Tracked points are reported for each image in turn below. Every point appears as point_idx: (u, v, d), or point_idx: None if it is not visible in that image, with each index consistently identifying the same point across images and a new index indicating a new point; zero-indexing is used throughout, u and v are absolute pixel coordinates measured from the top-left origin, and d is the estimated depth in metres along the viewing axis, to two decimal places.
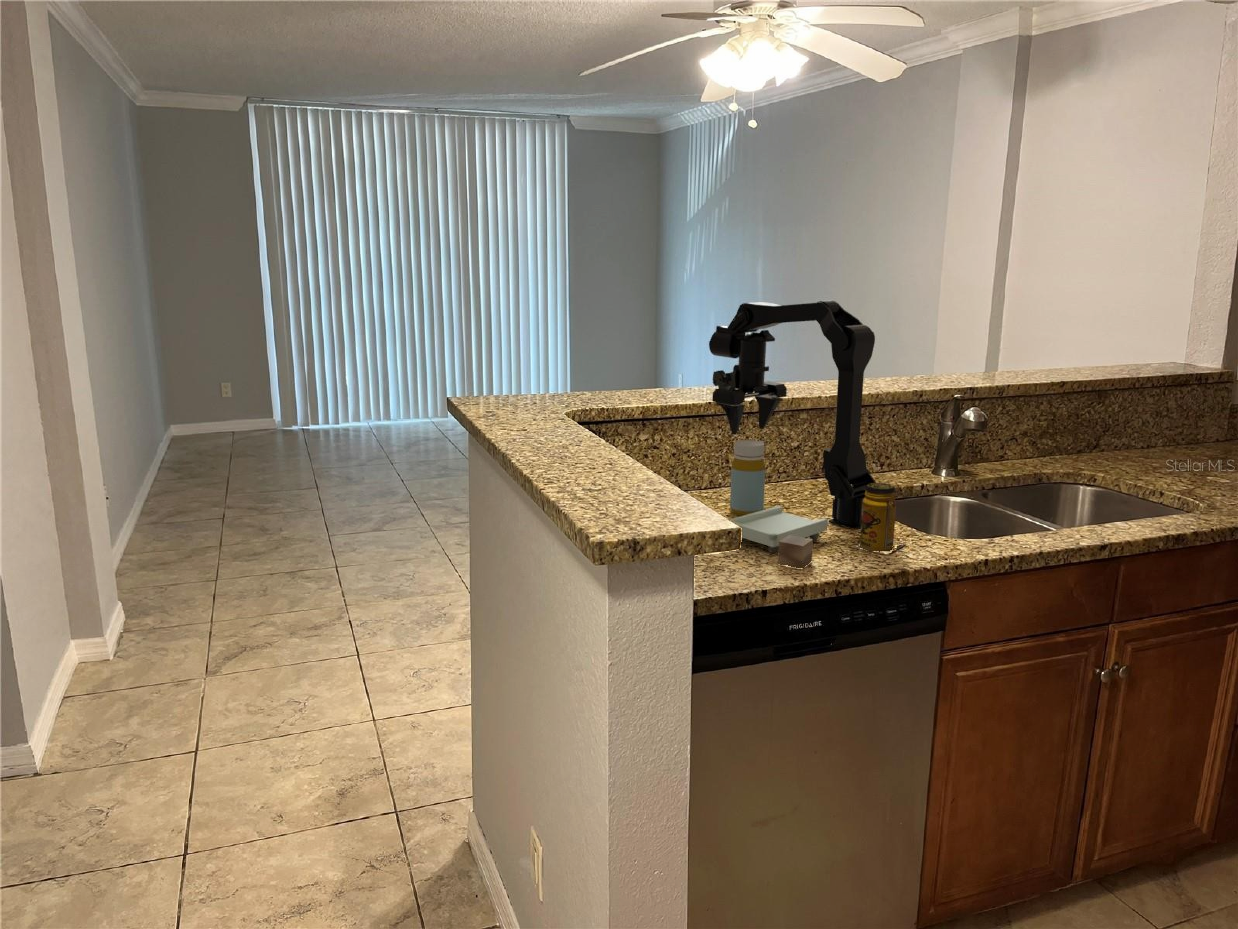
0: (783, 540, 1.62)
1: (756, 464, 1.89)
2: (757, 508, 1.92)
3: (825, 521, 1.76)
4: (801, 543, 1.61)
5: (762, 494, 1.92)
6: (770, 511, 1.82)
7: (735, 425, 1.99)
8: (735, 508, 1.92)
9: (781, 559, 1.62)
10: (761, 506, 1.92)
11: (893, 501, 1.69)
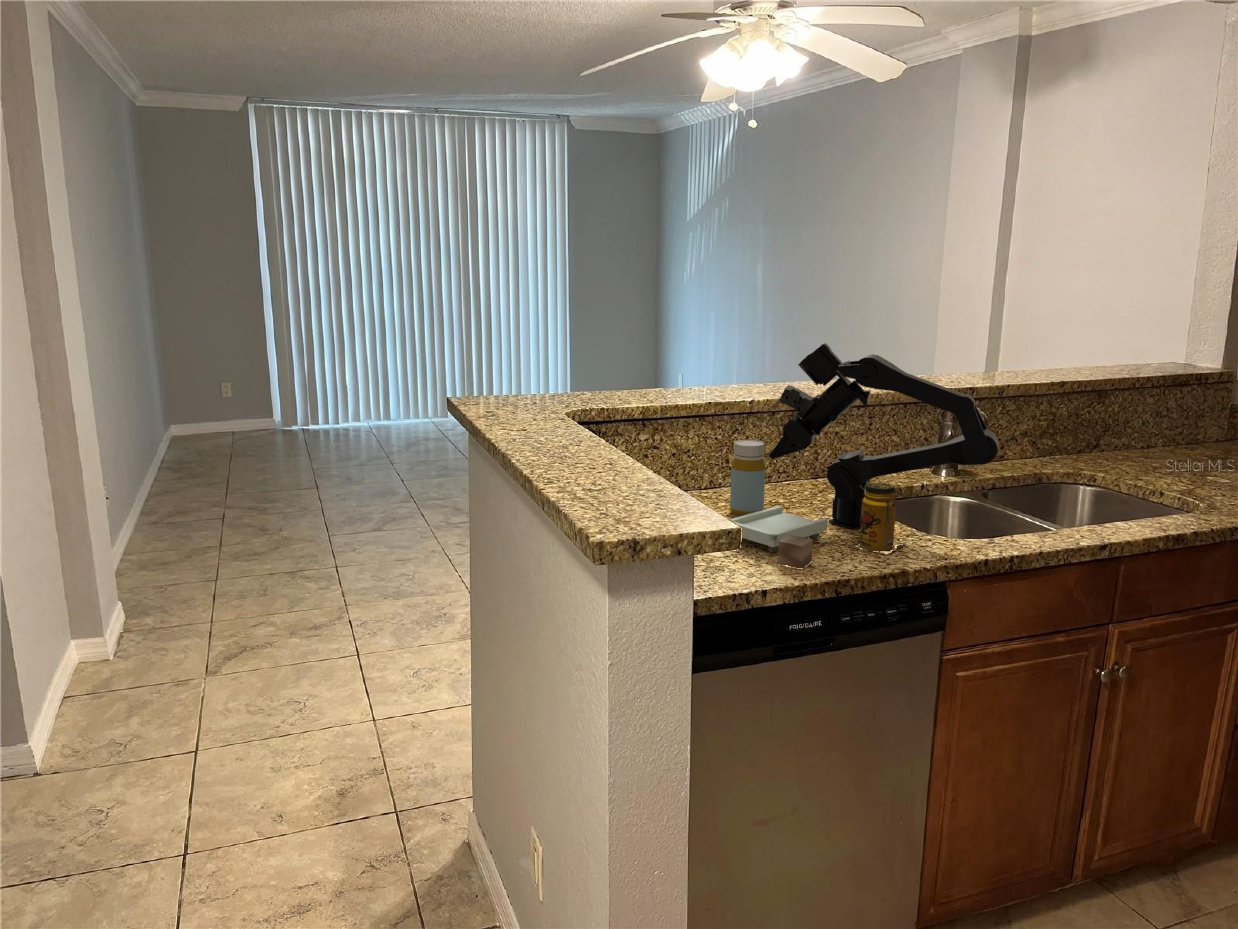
0: (783, 540, 1.62)
1: (756, 464, 1.89)
2: (757, 508, 1.92)
3: (825, 521, 1.76)
4: (801, 543, 1.61)
5: (762, 494, 1.92)
6: (770, 511, 1.82)
7: (780, 454, 1.84)
8: (735, 508, 1.92)
9: (781, 559, 1.62)
10: (761, 506, 1.92)
11: (893, 501, 1.69)
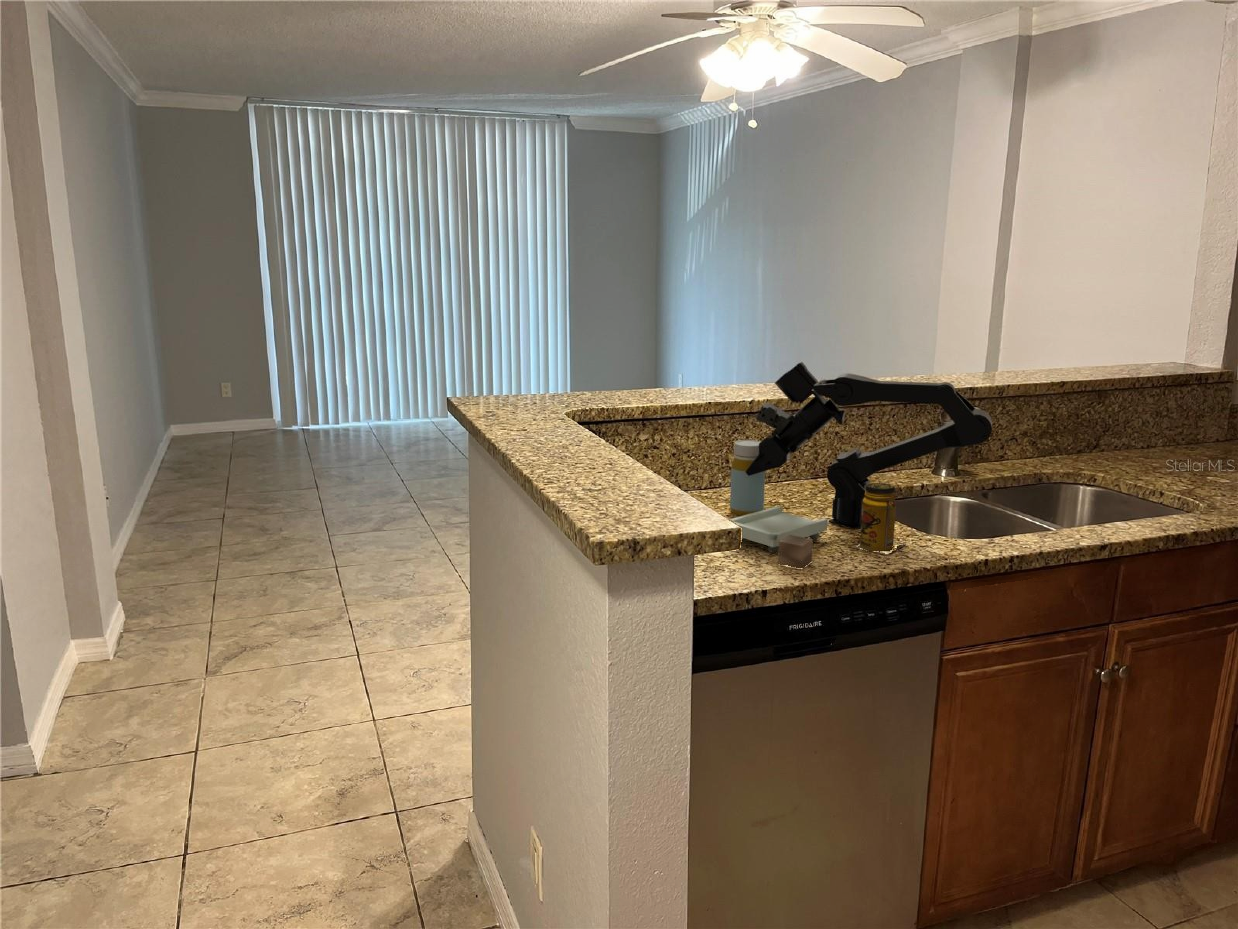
0: (783, 540, 1.62)
1: None
2: (757, 508, 1.92)
3: (825, 521, 1.76)
4: (801, 543, 1.61)
5: (762, 494, 1.92)
6: (770, 511, 1.82)
7: (756, 471, 1.86)
8: (735, 508, 1.92)
9: (781, 559, 1.62)
10: (761, 506, 1.92)
11: (893, 501, 1.69)
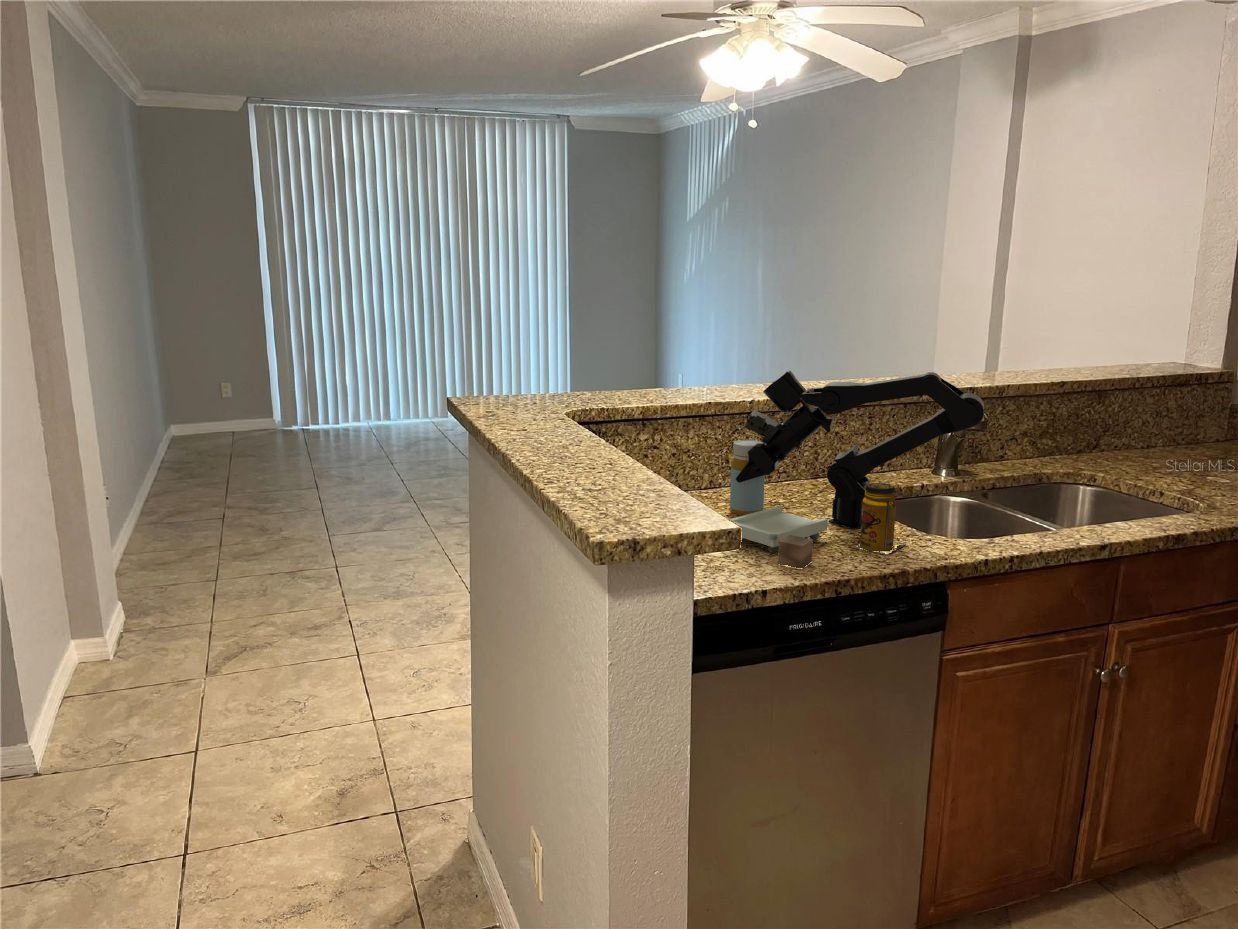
0: (783, 540, 1.62)
1: None
2: (757, 507, 1.92)
3: (825, 521, 1.76)
4: (801, 543, 1.61)
5: (762, 494, 1.92)
6: (770, 511, 1.82)
7: (746, 478, 1.89)
8: (735, 508, 1.92)
9: (781, 559, 1.62)
10: (761, 506, 1.92)
11: (893, 501, 1.69)
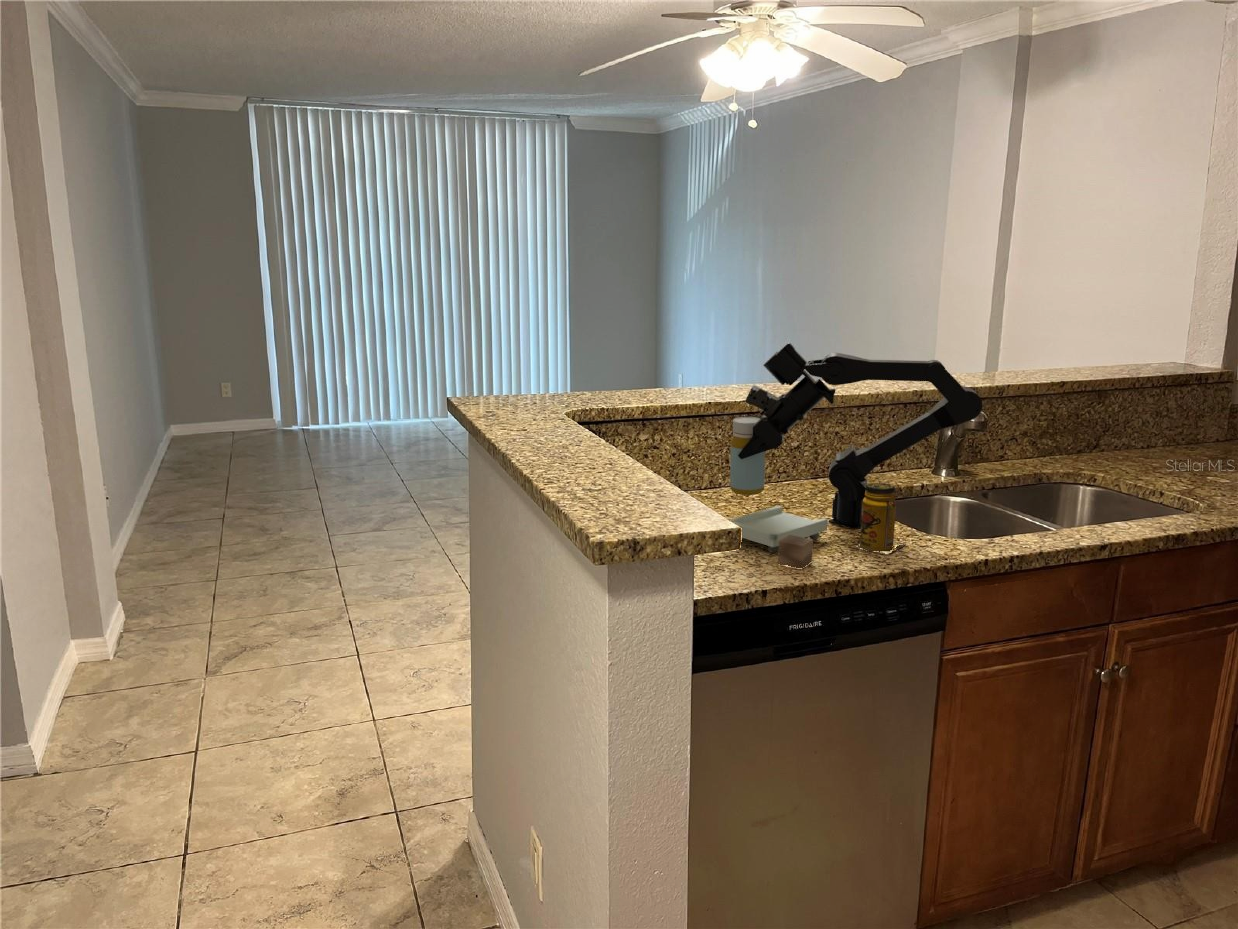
0: (783, 540, 1.62)
1: None
2: (759, 485, 1.88)
3: (825, 521, 1.76)
4: (801, 543, 1.61)
5: (763, 471, 1.89)
6: (770, 511, 1.82)
7: (750, 454, 1.84)
8: (737, 487, 1.88)
9: (781, 559, 1.62)
10: (763, 484, 1.89)
11: (893, 501, 1.69)
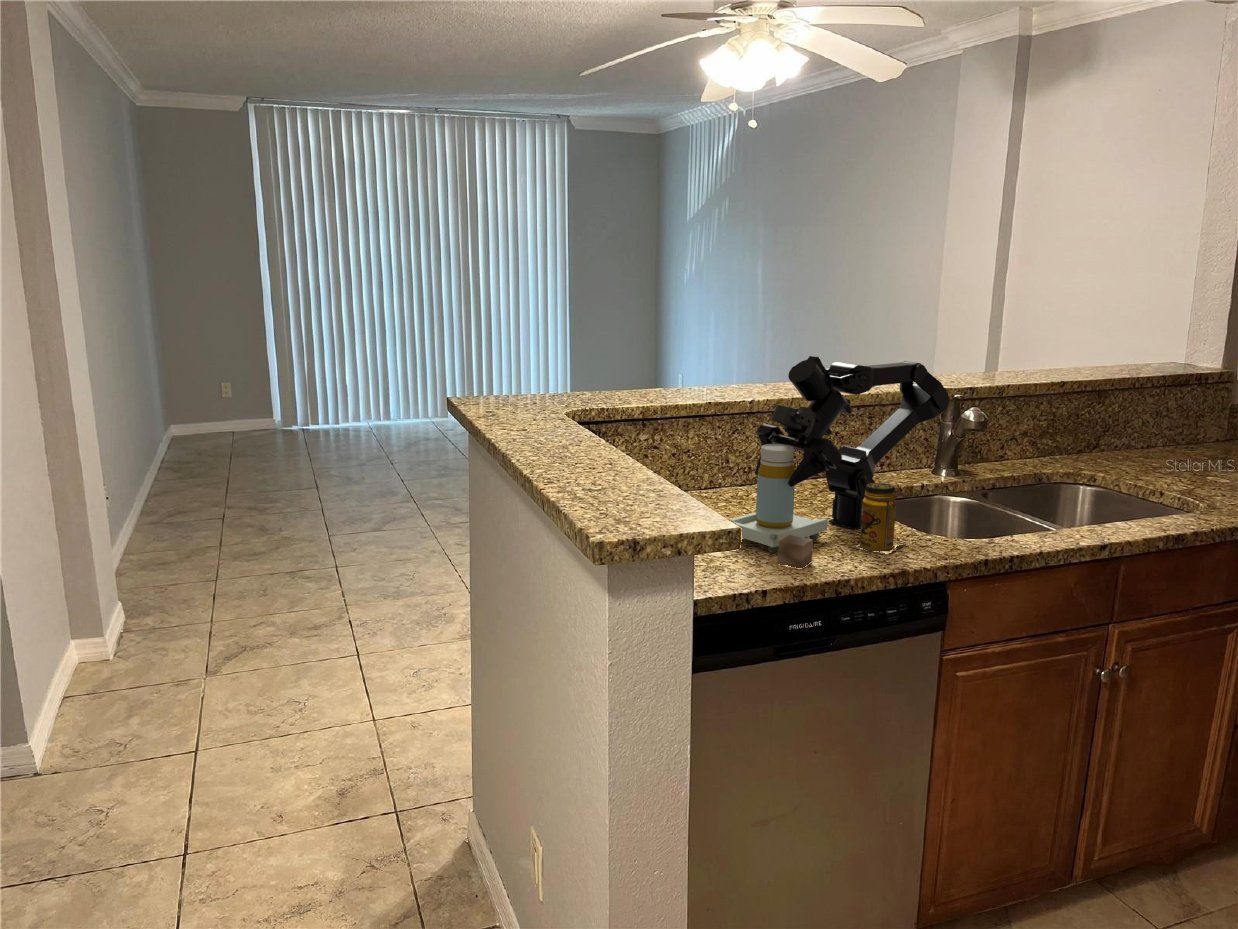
0: (783, 540, 1.62)
1: None
2: None
3: (825, 521, 1.76)
4: (801, 543, 1.61)
5: None
6: None
7: (801, 480, 1.70)
8: (778, 521, 1.73)
9: (781, 559, 1.62)
10: None
11: (893, 501, 1.69)
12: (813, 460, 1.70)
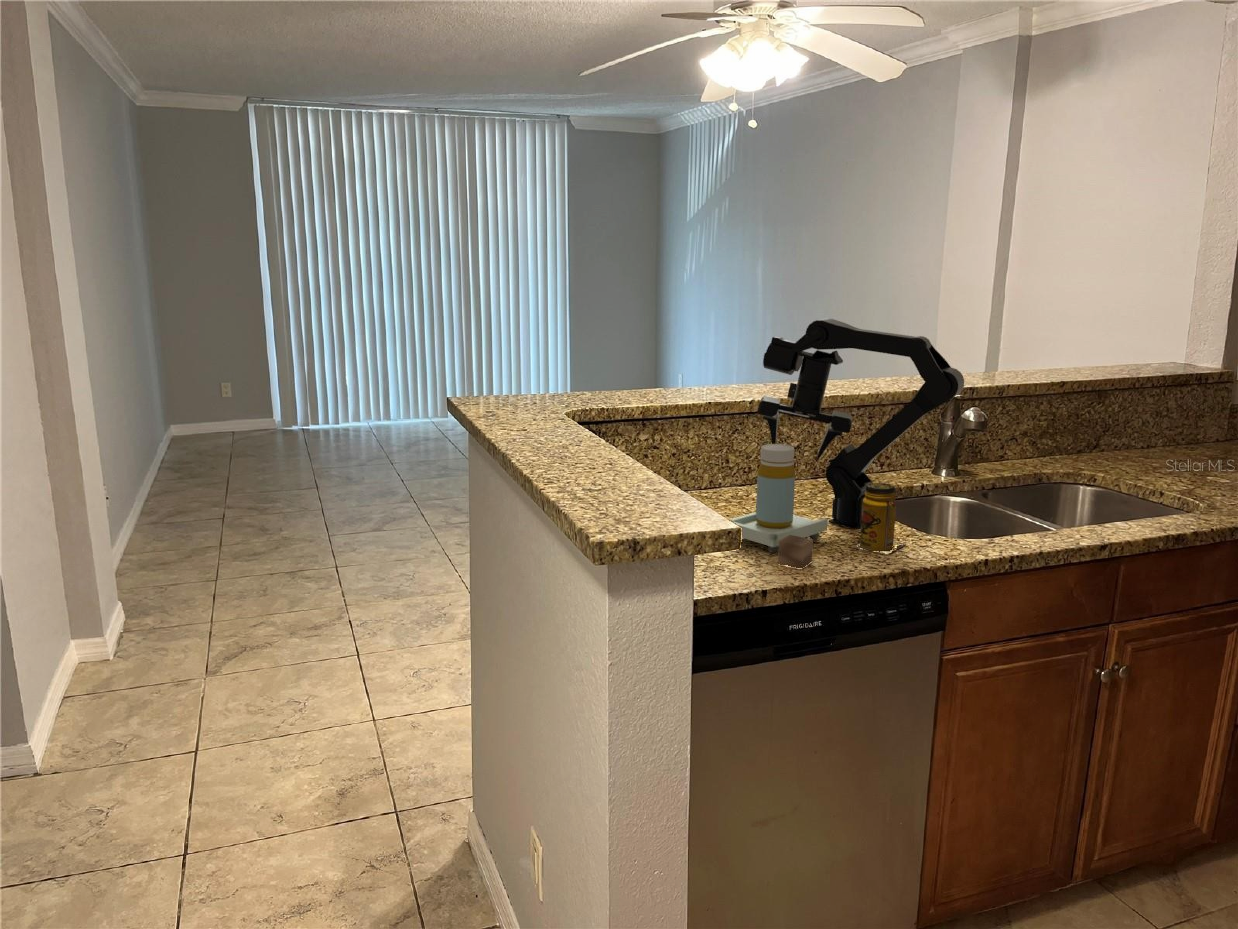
0: (783, 540, 1.62)
1: (793, 468, 1.73)
2: None
3: (825, 521, 1.76)
4: (801, 543, 1.61)
5: None
6: None
7: (771, 439, 1.90)
8: (778, 521, 1.73)
9: (781, 559, 1.62)
10: None
11: (893, 501, 1.69)
12: None
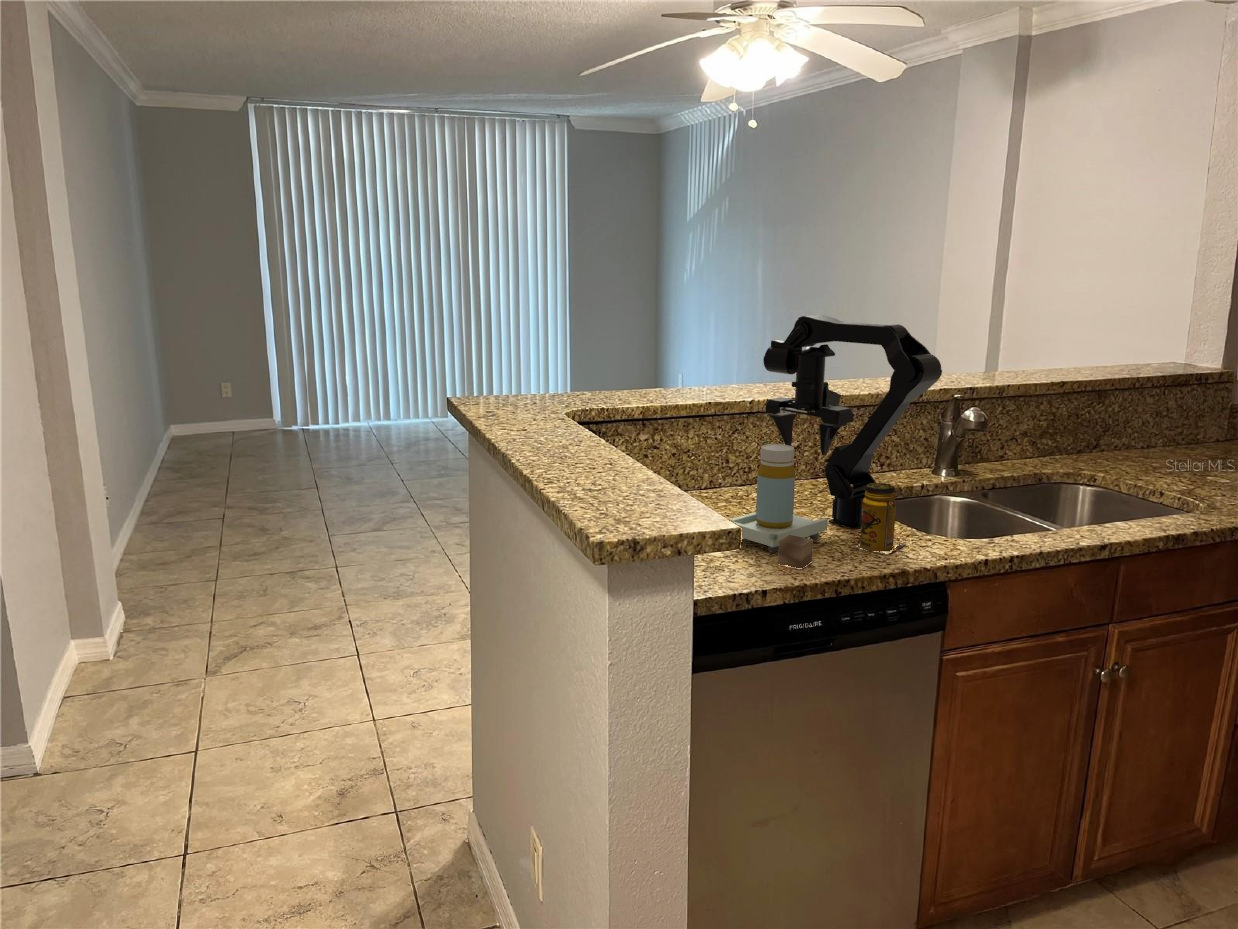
0: (783, 540, 1.62)
1: (793, 468, 1.73)
2: None
3: (825, 521, 1.76)
4: (801, 543, 1.61)
5: None
6: None
7: None
8: (778, 521, 1.73)
9: (781, 559, 1.62)
10: None
11: (893, 501, 1.69)
12: None
